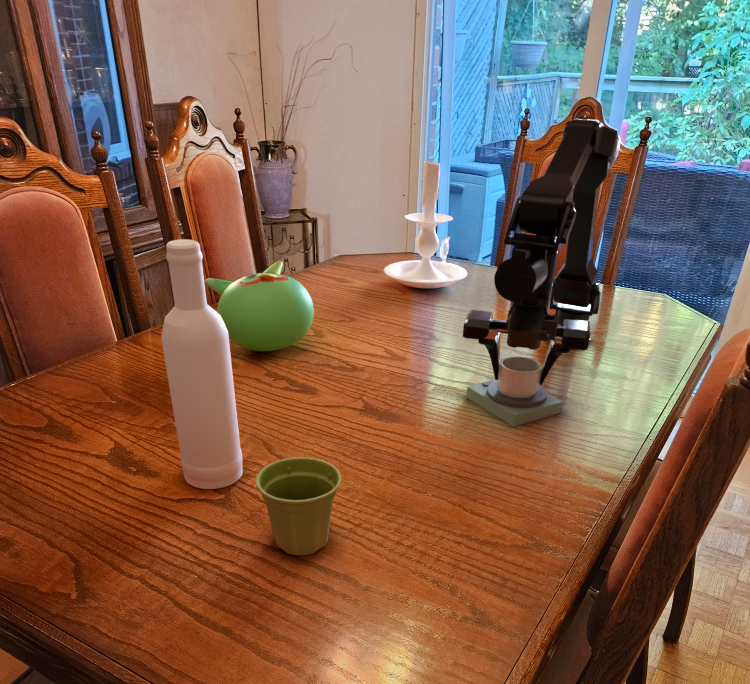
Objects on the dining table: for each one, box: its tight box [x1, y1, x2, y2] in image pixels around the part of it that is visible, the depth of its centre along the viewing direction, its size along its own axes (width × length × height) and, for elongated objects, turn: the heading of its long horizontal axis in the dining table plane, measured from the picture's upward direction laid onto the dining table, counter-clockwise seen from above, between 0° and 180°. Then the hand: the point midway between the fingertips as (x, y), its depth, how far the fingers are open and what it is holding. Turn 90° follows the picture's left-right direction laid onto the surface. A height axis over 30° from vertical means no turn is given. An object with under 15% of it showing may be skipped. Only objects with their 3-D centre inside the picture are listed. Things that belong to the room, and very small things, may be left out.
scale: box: [465, 379, 563, 428], centre depth 109 cm, size 12×10×3 cm
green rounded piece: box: [204, 260, 315, 352], centre depth 125 cm, size 18×17×15 cm
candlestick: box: [383, 158, 468, 289], centre depth 160 cm, size 21×25×28 cm
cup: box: [497, 355, 543, 398], centre depth 106 cm, size 7×7×4 cm
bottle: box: [160, 238, 244, 490], centre depth 81 cm, size 8×8×30 cm
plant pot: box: [255, 456, 342, 556], centre depth 76 cm, size 9×9×9 cm
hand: (518, 381), depth 107 cm, fingers closed on cup, 7 cm apart
